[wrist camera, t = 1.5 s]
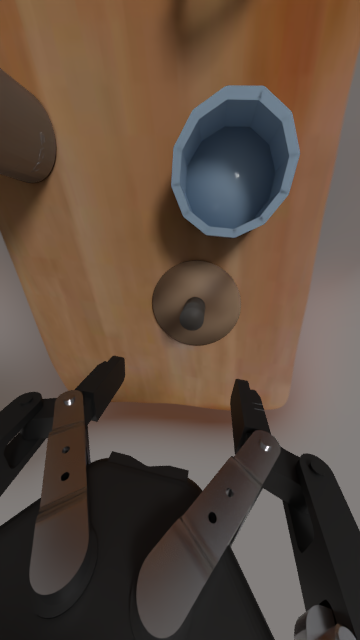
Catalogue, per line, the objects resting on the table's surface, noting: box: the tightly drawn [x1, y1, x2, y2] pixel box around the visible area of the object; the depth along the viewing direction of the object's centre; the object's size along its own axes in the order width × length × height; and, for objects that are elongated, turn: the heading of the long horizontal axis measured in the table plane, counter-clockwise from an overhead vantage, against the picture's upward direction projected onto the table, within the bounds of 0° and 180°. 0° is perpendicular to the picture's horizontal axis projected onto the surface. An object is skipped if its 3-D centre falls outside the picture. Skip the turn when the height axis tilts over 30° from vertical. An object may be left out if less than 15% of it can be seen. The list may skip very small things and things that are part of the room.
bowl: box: [171, 86, 300, 238], centre depth 19 cm, size 11×11×5 cm
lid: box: [153, 261, 241, 345], centre depth 26 cm, size 13×13×6 cm
